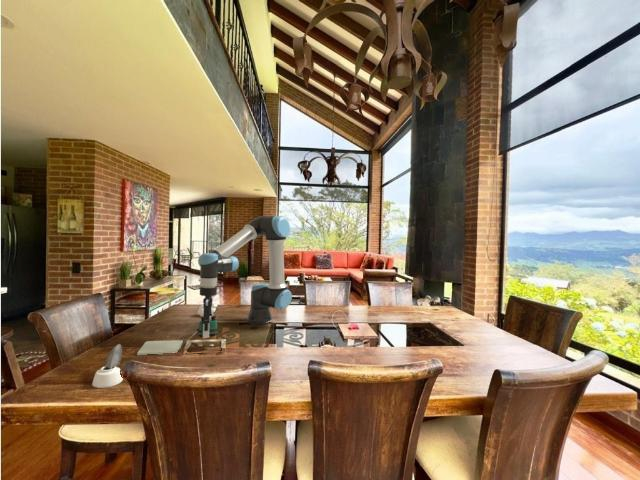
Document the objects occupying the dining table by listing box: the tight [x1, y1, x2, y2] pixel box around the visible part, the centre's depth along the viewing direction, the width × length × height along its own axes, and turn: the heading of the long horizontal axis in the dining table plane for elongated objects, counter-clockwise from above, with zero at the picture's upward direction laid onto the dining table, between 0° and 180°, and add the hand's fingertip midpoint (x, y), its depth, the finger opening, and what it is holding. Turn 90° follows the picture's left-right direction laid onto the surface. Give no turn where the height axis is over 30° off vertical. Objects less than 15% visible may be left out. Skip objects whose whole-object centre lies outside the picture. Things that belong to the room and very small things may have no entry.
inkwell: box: [91, 343, 124, 389], centre depth 120 cm, size 9×18×10 cm, turn 19°
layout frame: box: [183, 338, 227, 350], centre depth 155 cm, size 18×17×1 cm
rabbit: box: [197, 300, 218, 317], centre depth 207 cm, size 12×9×12 cm
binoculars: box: [196, 314, 219, 340], centre depth 155 cm, size 9×11×10 cm
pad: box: [136, 339, 184, 356], centre depth 150 cm, size 16×15×1 cm
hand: (206, 333), depth 155 cm, fingers closed on binoculars, 10 cm apart
